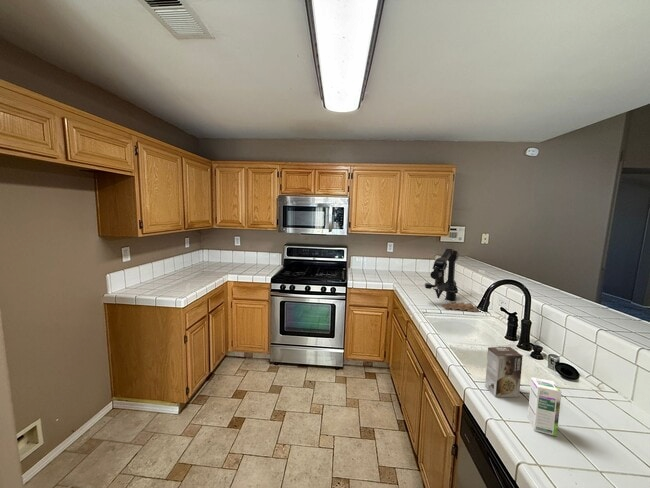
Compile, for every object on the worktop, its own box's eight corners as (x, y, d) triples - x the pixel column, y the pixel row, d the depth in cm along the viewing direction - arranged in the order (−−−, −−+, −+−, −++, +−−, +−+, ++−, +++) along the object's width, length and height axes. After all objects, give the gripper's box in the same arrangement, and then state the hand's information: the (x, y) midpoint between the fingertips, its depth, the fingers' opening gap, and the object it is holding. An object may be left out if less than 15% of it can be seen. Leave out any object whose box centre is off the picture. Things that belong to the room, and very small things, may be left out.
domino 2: (451, 307, 186) (465, 304, 184) (450, 305, 191) (463, 302, 189) (452, 310, 186) (465, 306, 184) (451, 307, 191) (463, 304, 189)
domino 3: (459, 308, 185) (472, 304, 182) (457, 306, 190) (470, 302, 187) (460, 310, 185) (473, 307, 182) (458, 308, 190) (471, 305, 187)
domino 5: (474, 311, 183) (489, 312, 181) (472, 308, 188) (486, 309, 186) (474, 313, 183) (488, 314, 181) (472, 311, 188) (486, 312, 186)
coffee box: (506, 386, 102) (510, 346, 100) (519, 397, 95) (524, 355, 94) (483, 386, 101) (487, 346, 100) (495, 397, 95) (499, 355, 93)
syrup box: (533, 431, 80) (538, 386, 79) (526, 417, 86) (531, 375, 84) (557, 437, 78) (562, 391, 77) (548, 422, 84) (553, 380, 82)
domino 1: (444, 307, 187) (457, 303, 185) (442, 304, 192) (455, 301, 190) (445, 309, 187) (458, 306, 185) (443, 307, 192) (456, 303, 190)
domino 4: (467, 309, 183) (482, 308, 181) (465, 306, 188) (479, 305, 186) (468, 311, 184) (482, 310, 181) (466, 309, 188) (479, 308, 186)
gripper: (427, 278, 182) (426, 300, 183) (456, 280, 178) (455, 302, 180) (425, 275, 193) (423, 296, 194) (452, 277, 189) (450, 298, 191)
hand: (438, 298), depth 189 cm, fingers closed
